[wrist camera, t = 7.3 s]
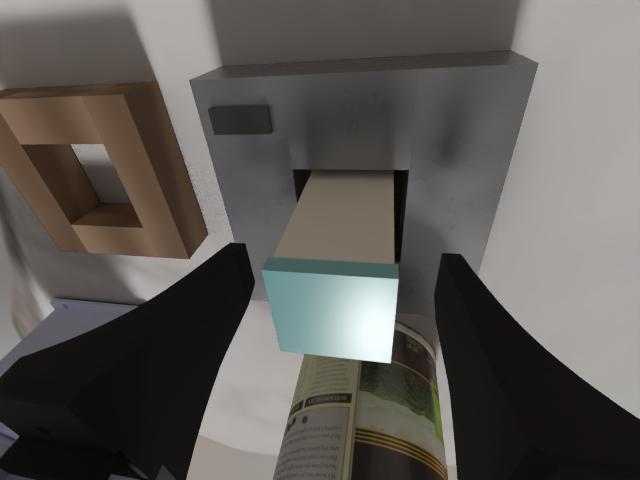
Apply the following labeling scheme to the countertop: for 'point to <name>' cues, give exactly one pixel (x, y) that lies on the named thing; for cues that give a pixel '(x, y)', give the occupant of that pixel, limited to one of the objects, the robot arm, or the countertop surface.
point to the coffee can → (366, 417)
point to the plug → (337, 268)
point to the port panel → (369, 148)
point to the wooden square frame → (126, 155)
